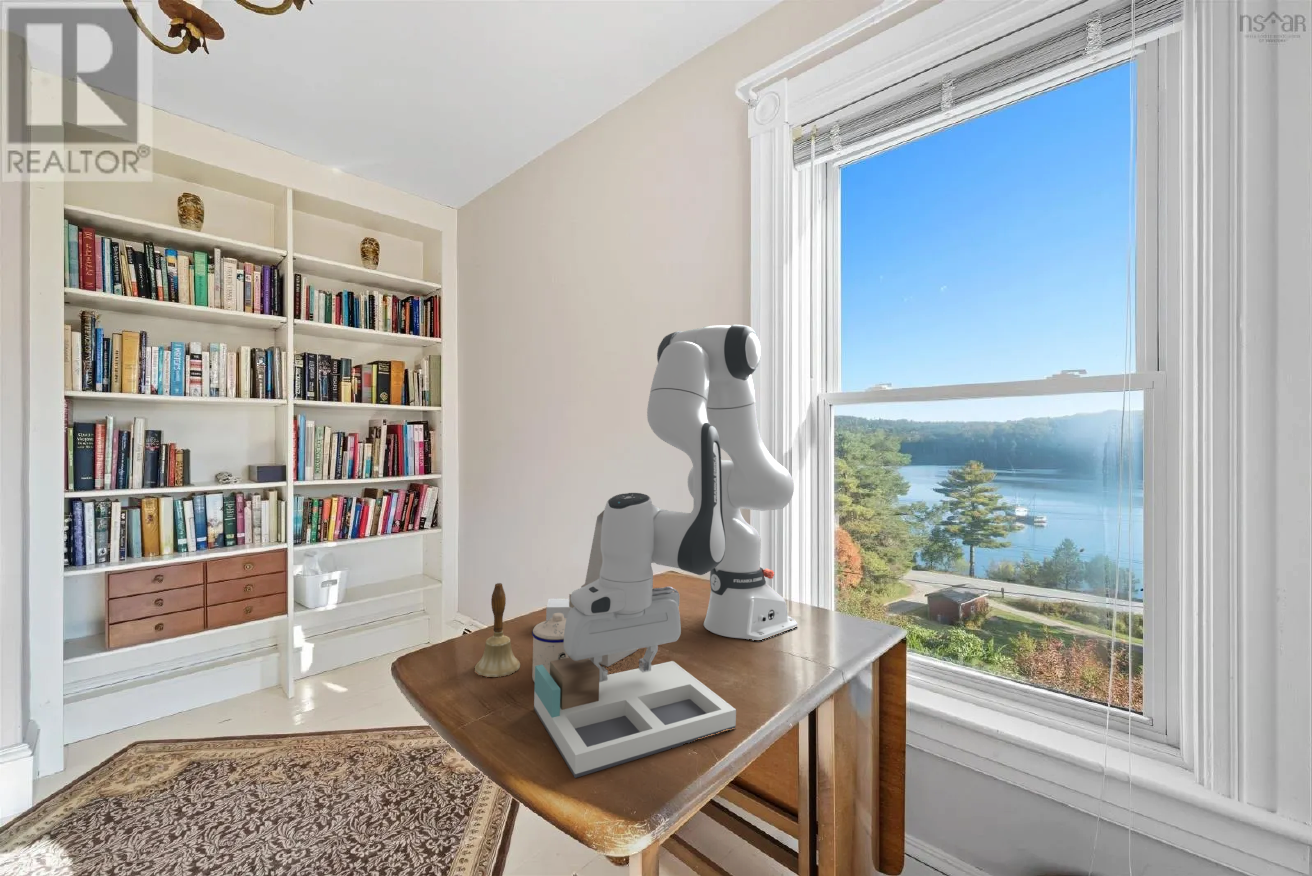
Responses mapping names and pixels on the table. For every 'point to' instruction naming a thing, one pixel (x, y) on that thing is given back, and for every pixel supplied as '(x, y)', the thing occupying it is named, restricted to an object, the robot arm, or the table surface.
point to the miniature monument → (594, 575)
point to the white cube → (557, 607)
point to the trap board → (630, 716)
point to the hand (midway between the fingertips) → (623, 675)
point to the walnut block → (575, 681)
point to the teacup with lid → (548, 642)
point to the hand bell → (497, 643)
